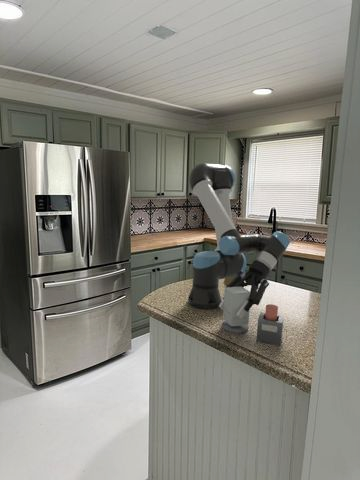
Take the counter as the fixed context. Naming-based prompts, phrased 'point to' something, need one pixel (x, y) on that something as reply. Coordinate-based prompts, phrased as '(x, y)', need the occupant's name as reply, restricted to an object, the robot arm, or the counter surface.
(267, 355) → the counter surface
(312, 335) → the counter surface
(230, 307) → the supplement box
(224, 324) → the coaster
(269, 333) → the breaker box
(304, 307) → the counter surface
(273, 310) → the button
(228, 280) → the rock
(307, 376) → the counter surface
